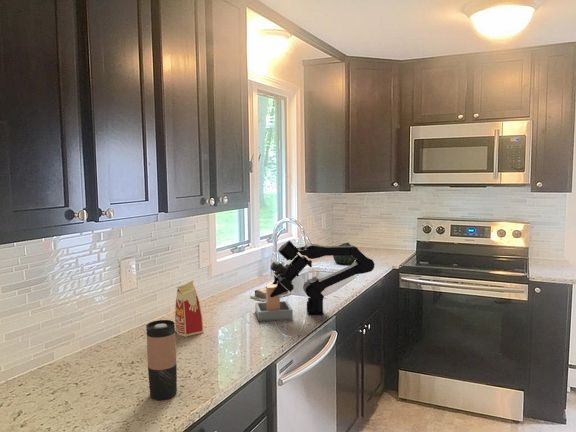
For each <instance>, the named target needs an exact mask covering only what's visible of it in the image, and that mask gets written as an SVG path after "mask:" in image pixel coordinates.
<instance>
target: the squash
mask: <svg viewBox="0 0 576 432" xmlns="http://www.w3.org/2000/svg"><path fill="white" fill-rule="evenodd" d="M351 245H352V244H351V243H349V242H344V243H341V244H339V245H338V246H351ZM332 257H333V260H334V262H335V263H337V264H340V265H341V264H343V265H346V266H347V265H349V266H350V265H352V264H353V263H354V262H355V261H356V260H355V259H354V258H353V257H352V256H351V255H339V256H332Z"/></svg>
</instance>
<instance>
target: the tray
mask: <svg viewBox="0 0 576 432" xmlns="http://www.w3.org/2000/svg"><path fill="white" fill-rule="evenodd" d="M254 310H255V316H256V318H257V320H258V322H259V323H262V322H263V323H264V322H274V321H275V322H277V321H289V320H294V319H293V317H294V316H293V315H294V314H293V309H292V307H291V306H290V303H289V302H288V301H287V300H280V310H274V311H267V302H266V301H264V302H262V301H260V302H255V303H254Z"/></svg>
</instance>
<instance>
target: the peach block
mask: <svg viewBox="0 0 576 432" xmlns="http://www.w3.org/2000/svg"><path fill="white" fill-rule="evenodd" d="M276 286H277V284H273V283H271V284H265V288H266V301H265V302H267V311H274V310H280V301H281V299H280V298H281V297H280V294H279V295H277V296H275V297H270V295H271V293H272V292H273V291H274V289H275V288H276Z"/></svg>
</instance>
